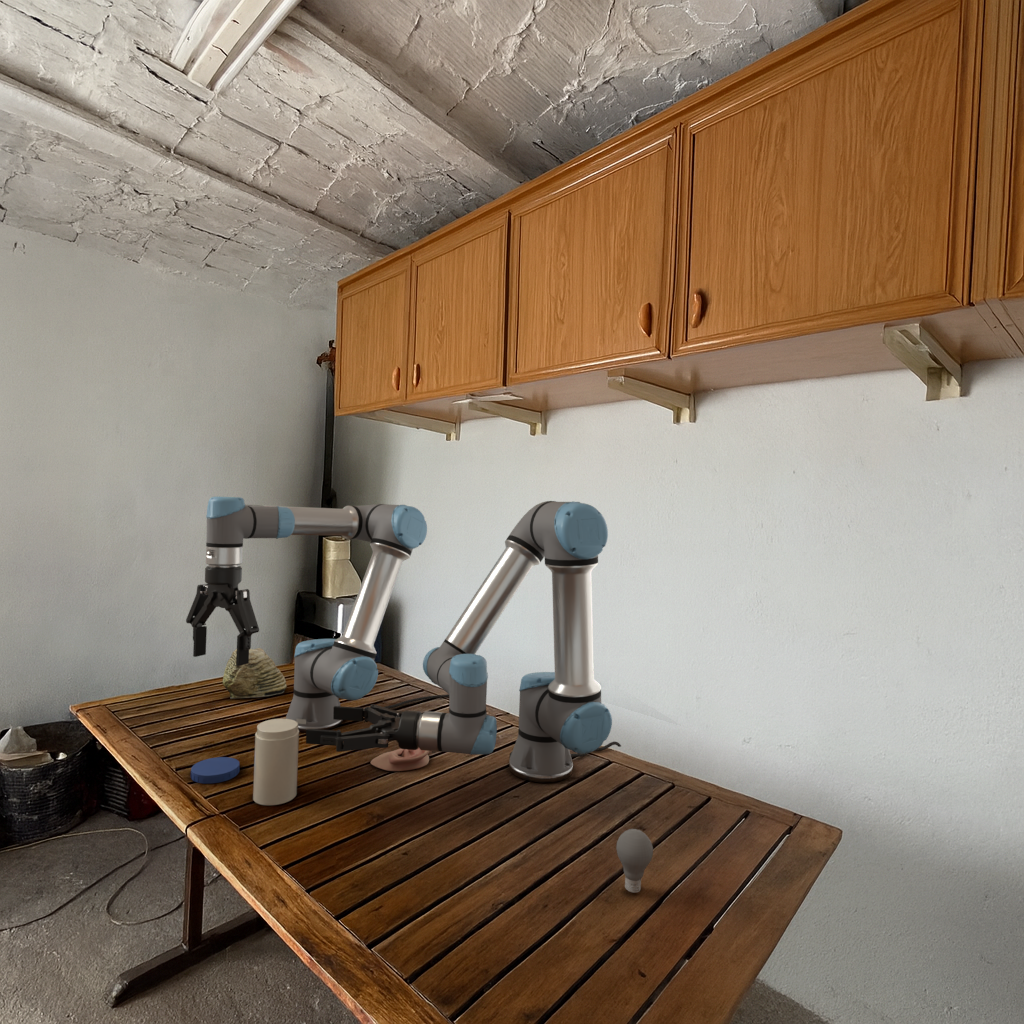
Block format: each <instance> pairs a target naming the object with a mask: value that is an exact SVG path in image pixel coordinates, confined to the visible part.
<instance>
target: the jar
mask: <svg viewBox="0 0 1024 1024" xmlns="http://www.w3.org/2000/svg"><path fill="white" fill-rule="evenodd" d="M299 745H300V731H299V729H298V723H297V722H296V721H294V720H291V719H286V718H272V719H268V720H267V719H266V720H265V721H262V722H259V723H258V724H257V726H256V732H255V734H254V756H253V758H254V759H253V781H252V782H253V783H252V800H253V801H254V803H255V804H258V805H261V806H278V805H282V804H285V803H288V802H290V801H292V800H293V799H295V798H296V796H297V794H298V774H299V773H298V770H299Z"/></svg>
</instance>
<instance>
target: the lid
mask: <svg viewBox="0 0 1024 1024" xmlns="http://www.w3.org/2000/svg"><path fill="white" fill-rule="evenodd" d="M240 768H241V765H240V761H239V759H237V758H234V757H227V756H218V757H211V758H206V759H203V760H200V761H198V762H196V763H194V765H192V766H191V768H190V775H189V776H190V780H192V781H193V782H194V783H199V784H205V785H207V784H208V785H209V784H210V785H212V784H217V783H222V782H223V783H224V782H226V781H229V780H232V779H234V778H236V777H237V776H238V775H239V773H240V771H241V769H240Z"/></svg>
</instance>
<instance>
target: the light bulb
mask: <svg viewBox="0 0 1024 1024" xmlns="http://www.w3.org/2000/svg"><path fill="white" fill-rule="evenodd" d="M615 849H616V854H617V857H618V859H619V861H620V863H621V865H622V867H623V873H624V874H623V875H624V876H625V878H624V888H625V890H627V891H628V892H630V893H634V894H635V893H639V892H640V891H641V889H642V887H641V886H642V879H643V877H644V875H645V871H646V868H647V867H648V866H649V864H650V863H651V861H652V859H653V855H654V847H653V843H652V841H651V838H649V836H648V835H647V834H646V833H645V832H643V831H642V830H641V829H636V828H629V829H627V830H625V831H623V832H622V833H621V834H620V835H619V837H618V839H617V841H616V847H615Z"/></svg>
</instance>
